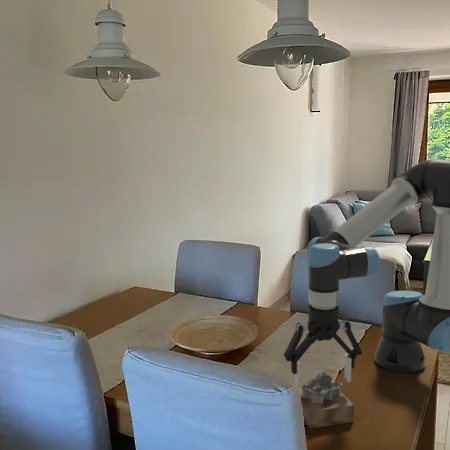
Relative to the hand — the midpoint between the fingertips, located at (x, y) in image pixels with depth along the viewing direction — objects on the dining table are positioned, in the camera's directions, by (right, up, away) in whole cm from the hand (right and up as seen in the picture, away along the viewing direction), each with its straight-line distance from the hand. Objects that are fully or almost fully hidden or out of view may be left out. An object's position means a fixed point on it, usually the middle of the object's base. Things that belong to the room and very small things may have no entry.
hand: (322, 382), depth 133 cm
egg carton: (0, -4, 0) cm, 4 cm away
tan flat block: (0, -8, +1) cm, 8 cm away
